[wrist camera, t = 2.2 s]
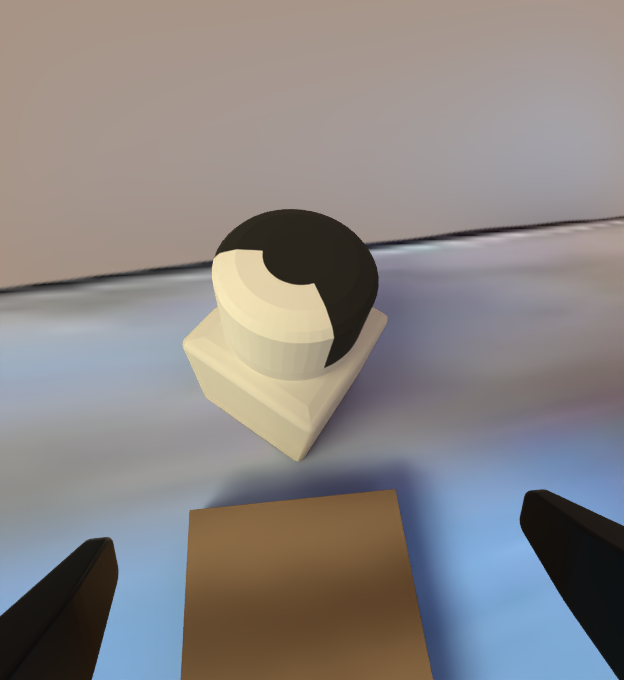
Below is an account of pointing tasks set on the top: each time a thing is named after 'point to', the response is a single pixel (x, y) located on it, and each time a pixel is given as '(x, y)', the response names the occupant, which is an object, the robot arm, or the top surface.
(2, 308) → the top surface
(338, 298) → the medicine bottle
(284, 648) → the walnut block
